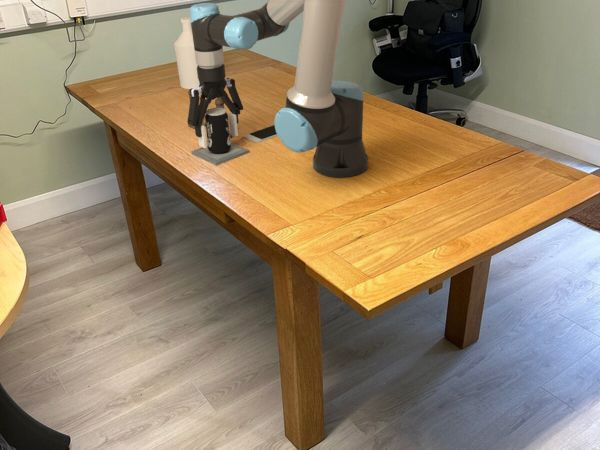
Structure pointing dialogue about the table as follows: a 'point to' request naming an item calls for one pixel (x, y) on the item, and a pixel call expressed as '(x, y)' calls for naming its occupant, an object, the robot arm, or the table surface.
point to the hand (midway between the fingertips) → (219, 140)
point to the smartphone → (262, 134)
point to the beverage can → (217, 130)
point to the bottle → (186, 56)
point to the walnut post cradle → (219, 104)
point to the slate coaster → (220, 158)
